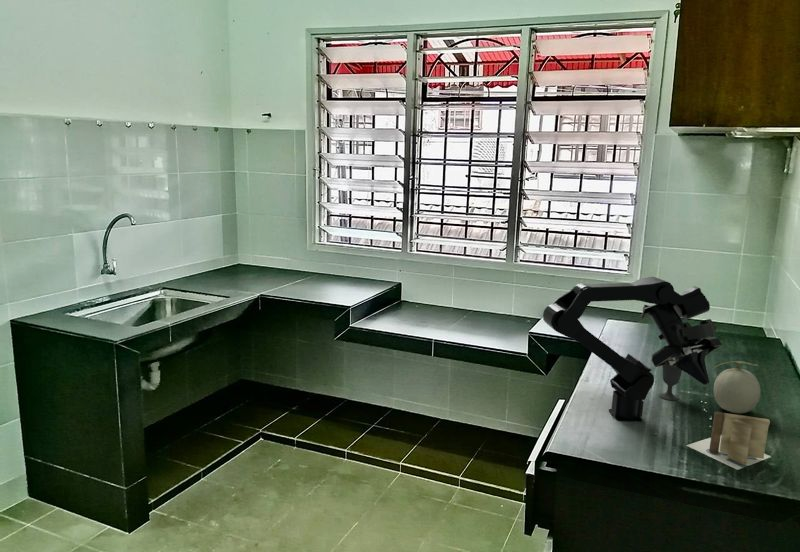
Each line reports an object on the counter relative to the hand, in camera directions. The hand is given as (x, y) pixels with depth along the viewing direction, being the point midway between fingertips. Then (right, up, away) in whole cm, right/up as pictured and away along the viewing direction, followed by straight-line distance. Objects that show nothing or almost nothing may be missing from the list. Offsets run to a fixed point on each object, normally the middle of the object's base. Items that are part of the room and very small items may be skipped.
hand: (706, 383), depth 138 cm
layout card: (+3, -15, -4) cm, 15 cm away
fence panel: (+4, -14, -7) cm, 16 cm away
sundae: (+3, -9, +27) cm, 28 cm away
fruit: (+16, -11, +19) cm, 27 cm away
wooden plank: (0, -15, -8) cm, 17 cm away
